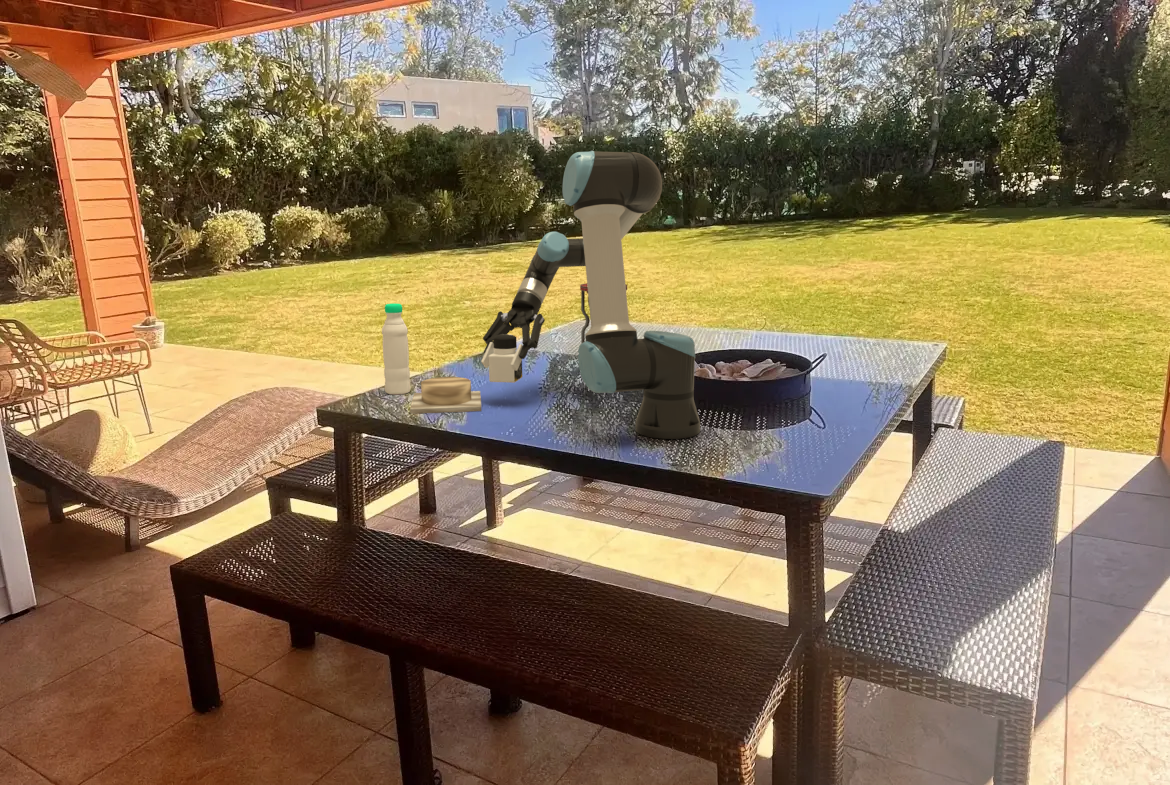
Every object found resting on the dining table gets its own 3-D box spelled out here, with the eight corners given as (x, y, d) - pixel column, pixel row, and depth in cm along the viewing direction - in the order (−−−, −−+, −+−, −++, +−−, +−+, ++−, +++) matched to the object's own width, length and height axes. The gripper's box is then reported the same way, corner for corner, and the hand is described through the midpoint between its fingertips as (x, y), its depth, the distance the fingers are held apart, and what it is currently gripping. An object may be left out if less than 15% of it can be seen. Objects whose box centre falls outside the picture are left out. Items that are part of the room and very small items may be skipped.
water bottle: (415, 392, 234) (411, 303, 228) (394, 396, 229) (389, 306, 223) (401, 388, 238) (396, 301, 233) (380, 392, 233) (375, 304, 228)
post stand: (481, 411, 213) (480, 388, 211) (410, 413, 210) (408, 390, 209) (480, 395, 230) (479, 374, 229) (414, 397, 228) (413, 376, 226)
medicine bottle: (515, 382, 215) (513, 337, 213) (489, 382, 217) (487, 336, 214) (522, 377, 222) (521, 333, 220) (497, 376, 224) (495, 332, 221)
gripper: (568, 309, 224) (539, 377, 214) (502, 305, 234) (471, 371, 223) (558, 291, 219) (528, 360, 208) (491, 288, 228) (459, 354, 218)
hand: (499, 366), depth 216 cm, fingers closed on medicine bottle, 8 cm apart
